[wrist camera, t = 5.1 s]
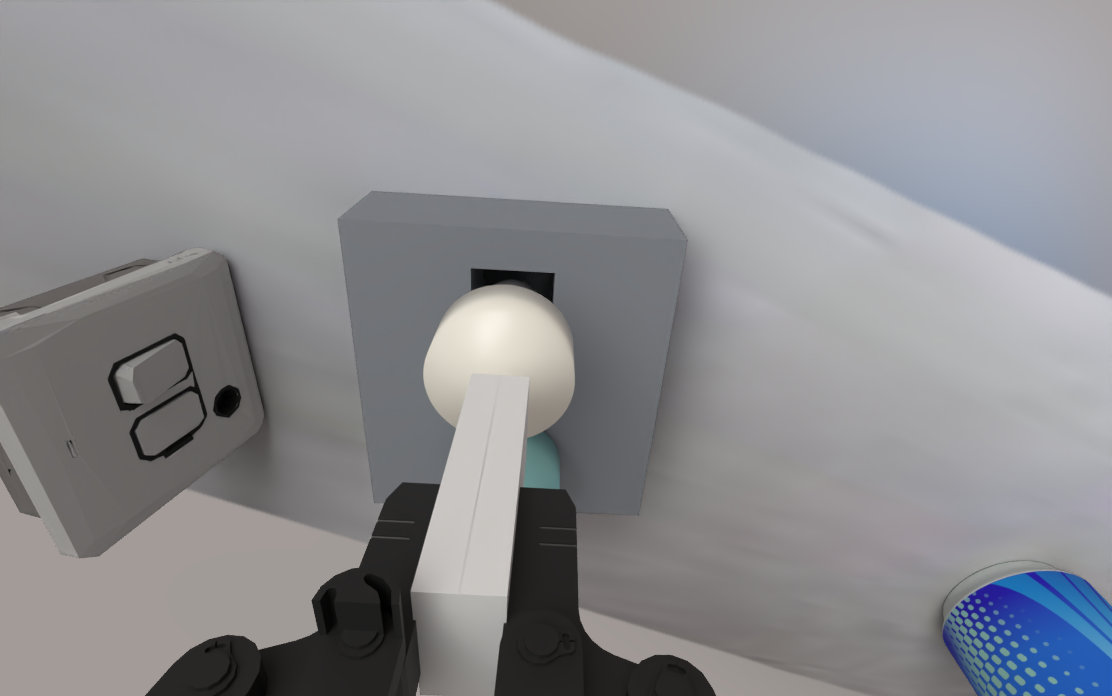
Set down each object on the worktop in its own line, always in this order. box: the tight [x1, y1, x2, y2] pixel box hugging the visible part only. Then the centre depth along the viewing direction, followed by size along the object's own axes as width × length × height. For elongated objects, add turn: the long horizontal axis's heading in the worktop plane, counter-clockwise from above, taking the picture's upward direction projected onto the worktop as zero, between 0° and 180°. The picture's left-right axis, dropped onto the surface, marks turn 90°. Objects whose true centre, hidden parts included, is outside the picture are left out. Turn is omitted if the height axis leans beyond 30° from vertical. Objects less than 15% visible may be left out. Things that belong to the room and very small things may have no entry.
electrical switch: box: [0, 248, 264, 558], centre depth 22 cm, size 9×5×9 cm, turn 177°
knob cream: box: [423, 279, 575, 438], centre depth 19 cm, size 4×4×6 cm
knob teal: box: [524, 431, 560, 489], centre depth 25 cm, size 4×4×6 cm
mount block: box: [338, 191, 687, 515], centre depth 24 cm, size 13×12×4 cm
